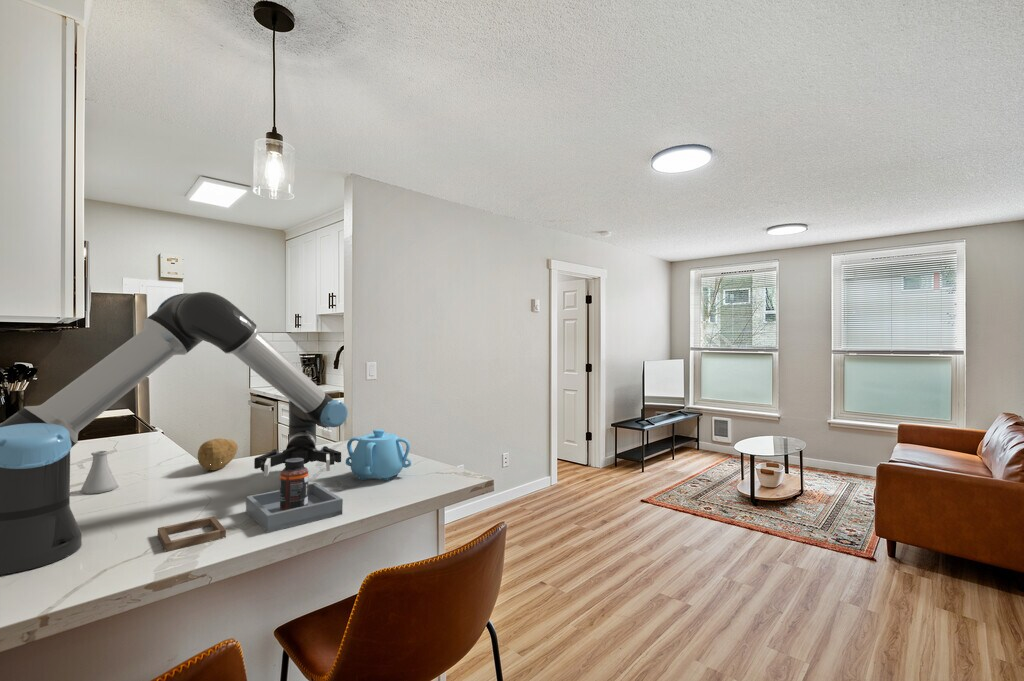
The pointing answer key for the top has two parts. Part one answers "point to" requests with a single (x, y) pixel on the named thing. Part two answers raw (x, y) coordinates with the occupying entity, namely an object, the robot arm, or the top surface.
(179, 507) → the top surface
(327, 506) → the tray
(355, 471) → the decorative pot
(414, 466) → the top surface
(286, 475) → the supplement bottle
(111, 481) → the flask
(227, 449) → the potato
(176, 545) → the rectangular wooden frame
